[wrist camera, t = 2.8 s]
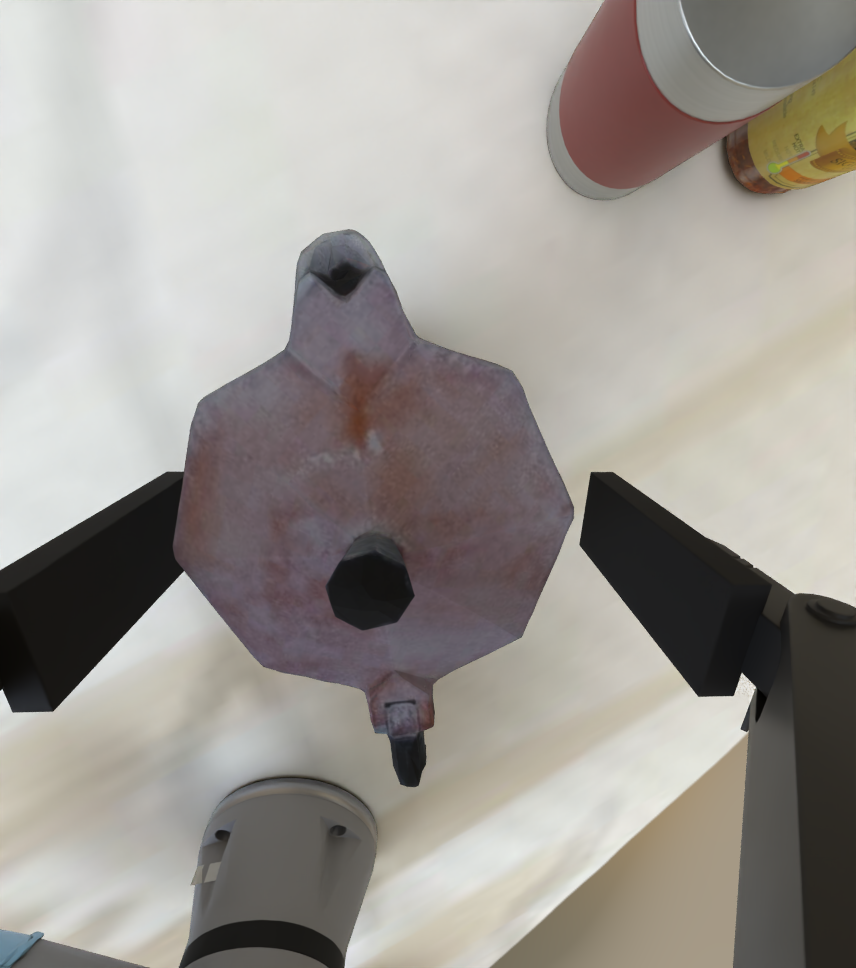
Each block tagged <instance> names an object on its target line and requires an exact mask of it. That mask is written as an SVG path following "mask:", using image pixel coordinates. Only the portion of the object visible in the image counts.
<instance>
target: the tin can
mask: <svg viewBox="0 0 856 968" xmlns="http://www.w3.org/2000/svg"><path fill="white" fill-rule="evenodd" d="M855 48H856V0H604V2H603V4H602V6H601V7H600V9H599V11H598V12H597V14H596V16H595V17H594V19H593V21H592V22H591V24H590V26H589V27H588V29H587V31H586V32H585V34H584V36H583V37H582V39H581V41H580V43H579V44H578V46H577V48H576V49H575V51H574V53H573V55H572V57H571V59H570V61H569V63H568V65H567V66H566V68H565V70H564V71H563V73H562V75H561V76H560V78H559V80H558V82H557V85H556V87H555V89H554V92H553V95H552V97H551V101H550V105H549V110H548V117H547V141H548V147H549V151H550V155H551V158H552V161H553V163H554V165H555V168H556V170H557V171H558V173H559V175H560V176H561V178H562V179H563V180H564V181H565V182H566V184H568V185H569V186H570V187H571V188H572V189H573V190H575V191H576V192H578V193H579V194H581V195H583V196H586V197H589V198H592V199H598V200H611V199H616V198H620V197H623V196H626V195H628V194H630V193H632V192H634V191H635V190H637V189H639V188H640V187H642V186H644V185H645V184H647V183H649V182H651V181H653V180H655V179H657V178H659V177H660V176H662V175H663V174H665V173H667V172H668V171H670V170H672V169H673V168H675V167H676V166H678V165H680V164H681V163H683V162H685V161H686V160H688V159H689V158H691V157H693V156H694V155H696V154H698V153H699V152H701V151H702V150H704V149H706V148H707V147H709V146H711V145H712V144H714V143H715V142H717V141H719V140H720V139H722V138H724V137H725V136H727V135H728V134H730V133H732V132H733V131H735V130H737V129H738V128H740V127H741V126H743V125H745V124H746V123H748V122H750V121H751V120H753V119H754V118H756V117H758V116H759V115H761V114H763V113H764V112H766V111H767V110H769V109H770V108H772V107H773V106H775V105H776V104H778V103H779V102H781V101H782V100H783V99H784V98H786V97H787V96H789V95H790V94H792V93H794V92H795V91H797V90H798V89H800V88H802V87H803V86H805V85H806V84H808V83H810V82H811V81H813V80H815V79H816V78H818V77H819V76H821V75H823V74H824V73H826V72H827V71H828V70H830V69H831V68H833V67H834V66H836V65H837V64H838V63H840V62H841V61H842V60H843V59H844V58H845V57H847V56H848V55H849V54H850V53H851V52H852V51H853V50H854V49H855Z"/></svg>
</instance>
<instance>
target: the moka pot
mask: <svg viewBox="0 0 856 968" xmlns="http://www.w3.org/2000/svg"><path fill="white" fill-rule="evenodd" d="M573 519H574V506H573V504H572V501H571V499H570V496H569V494H568V492H567V489H566V487H565V484H564V482H563V480H562V478H561V476H560V474H559V472H558V470H557V468H556V466H555V463H554V461H553V459H552V457H551V455H550V453H549V450H548V448H547V446H546V444H545V441H544V439H543V437H542V434H541V432H540V430H539V428H538V425H537V423H536V421H535V418H534V416H533V414H532V412H531V409H530V407H529V404H528V402H527V399H526V396H525V393H524V390H523V387H522V386H521V384H520V383H519V381H518V379H517V378H516V376H515V374H514V373H513V371H511V370H509V369H507V368H505V367H502V366H500V365H498V364H496V363H492V362H489V361H485V360H482V359H479V358H475V357H472V356H468V355H465V354H462V353H458V352H455V351H452V350H449V349H446V348H443V347H441V346H438V345H436V344H433V343H431V342H428V341H425V340H423V339H420V338H419V337H418V336H417V335H416V334H415V332H414V330H413V328H412V326H411V325H410V323H409V321H408V319H407V317H406V316H405V314H404V312H403V309H402V306H401V304H400V301H399V298H398V295H397V292H396V290H395V288H394V286H393V284H392V282H391V280H390V278H389V276H388V274H387V273H386V271H385V269H384V266H383V264H382V261H381V260H380V258H379V256H378V255H377V253H376V251H375V250H374V248H373V246H372V245H371V244H370V242H369V241H368V240H367V239H366V238H365V237H364V236H363V235H361V234H360V233H358V232H357V231H355V230H350V229H348V230H342V231H337V232H331V233H325V234H322V235H321V236H320V237H318V238H317V239H316V240H315V241H313V242H312V243H311V244H310V245H309V246H308V247H306V248H305V249H304V250H303V251H302V252H301V254H300V257H299V260H298V263H297V269H296V280H295V295H294V306H293V316H292V325H291V332H290V338H289V342H288V344H287V346H286V348H285V350H283V351H282V352H280V353H279V354H277V355H276V356H274V357H273V358H271V359H270V360H268V361H266V362H265V363H263V364H261V365H260V366H258V367H256V368H255V369H253V370H251V371H249V372H247V373H246V374H244V375H242V376H240V377H238V378H236V379H235V380H233V381H231V382H229V383H227V384H226V385H224V386H222V387H220V388H219V389H217V390H215V391H214V392H212V393H210V394H208V395H207V396H205V397H204V398H203V399H202V400H201V401H200V402H199V403H198V406H197V409H196V412H195V414H194V417H193V420H192V423H191V428H190V434H189V441H188V448H187V454H186V461H185V469H184V476H183V484H182V490H181V496H180V503H179V509H178V515H177V521H176V528H175V534H174V541H173V551H174V556H175V559H176V561H177V562H178V563H179V565H180V566H181V567H182V568H183V570H184V571H185V572H186V573H187V575H188V576H189V577H190V578H191V580H192V581H193V582H194V584H195V585H196V586H197V587H198V589H199V590H200V591H201V592H202V594H203V595H204V596H205V597H206V599H207V600H208V601H209V602H210V604H211V605H212V606H213V607H214V609H215V610H216V611H217V612H218V613H219V615H220V616H221V617H222V618H223V620H224V621H225V622H226V623H227V625H228V626H229V627H230V628H231V630H232V631H233V632H234V633H235V635H236V636H237V637H238V638H239V639H240V641H241V642H242V643H243V644H244V646H245V647H246V648H247V649H248V650H249V652H250V653H251V654H252V655H253V656H254V658H255V659H256V660H257V661H258V662H259V663H260V664H261V665H262V666H263V667H266V668H269V669H272V670H276V671H279V672H282V673H287V674H293V675H300V676H306V677H309V678H313V679H317V680H321V681H325V682H332V683H339V684H343V685H347V686H351V687H355V688H359V689H361V690H362V691H364V692H365V694H366V698H367V702H368V706H369V712H370V718H371V722H372V725H373V728H374V731H375V733H381V734H387V735H388V738H389V740H390V743H391V752H392V760H393V766H394V769H395V772H396V774H397V777H398V779H399V782H400V784H401V785H404V786H407V787H417V786H418V785H419V782H420V778H421V774H422V771H423V769H424V767H425V765H426V758H427V756H426V745H425V742H424V730H427V729H429V728H431V727H433V726H434V715H435V711H434V704H433V684H434V683H435V682H436V681H437V680H438V679H440V678H441V677H443V676H445V675H447V674H449V673H451V672H452V671H454V670H456V669H458V668H460V667H462V666H464V665H466V664H468V663H470V662H472V661H475V660H477V659H479V658H481V657H483V656H485V655H487V654H489V653H491V652H493V651H495V650H497V649H499V648H501V647H503V646H505V645H507V644H509V643H511V642H513V641H515V640H517V639H519V638H521V637H522V635H523V633H524V631H525V628H526V626H527V624H528V621H529V619H530V617H531V615H532V613H533V611H534V609H535V606H536V603H537V601H538V599H539V597H540V594H541V592H542V590H543V588H544V586H545V583H546V581H547V579H548V577H549V575H550V572H551V570H552V568H553V565H554V563H555V561H556V559H557V556H558V554H559V552H560V549H561V546H562V544H563V541H564V538H565V536H566V534H567V531H568V529H569V527H570V525H571V523H572V521H573Z"/></svg>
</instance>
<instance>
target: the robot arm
mask: <svg viewBox="0 0 856 968" xmlns="http://www.w3.org/2000/svg"><path fill="white" fill-rule="evenodd" d="M183 476H184V472H166V473H164V474H162V475H161V476H159V477H157V478H156V479H154V480H152V481H151V482H149V483H147V484H146V485H144V486H142V487H140V488H139V489H137V490H135V491H134V492H132V493H130V494H129V495H127V496H125V497H124V498H122V499H120V500H118V501H117V502H115V503H113V504H112V505H110V506H108V507H107V508H105V509H103V510H102V511H100V512H98V513H96V514H95V515H93V516H91V517H90V518H88V519H86V520H85V521H83V522H81V523H80V524H78V525H76V526H74V527H73V528H71V529H69V530H68V531H66V532H64V533H63V534H61V535H59V536H58V537H56V538H54V539H52V540H51V541H49V542H47V543H46V544H44V545H42V546H41V547H39V548H37V549H36V550H34V551H32V552H30V553H29V554H27V555H25V556H24V557H22V558H20V559H19V560H17V561H15V562H14V563H12V564H10V565H8V566H7V567H5V568H3V569H2V570H0V690H2V689H3V691H4V694H5V696H6V698H7V700H8V703H9V705H10V707H11V710H12V712H53V711H54V710H55V709H56V708H57V707H58V706H59V705H60V704H61V703H62V701H63V700H64V699H65V698H66V697H67V696H68V695H69V694H70V693H71V692H72V691H73V690H74V689H75V687H76V686H77V685H78V684H79V683H80V682H81V681H82V680H83V679H84V678H85V677H86V676H87V675H88V674H89V672H90V671H91V670H92V669H93V668H94V667H95V666H96V665H97V664H98V663H99V662H100V661H101V660H102V658H103V657H104V656H105V655H106V654H107V653H108V652H109V651H110V650H111V649H112V648H113V647H114V646H115V645H116V643H117V642H118V641H119V640H120V639H121V638H122V637H123V636H124V635H125V634H126V633H127V632H128V631H129V629H130V628H131V627H132V626H133V625H134V624H135V623H136V622H137V621H138V620H139V619H140V618H141V617H142V616H143V614H144V613H145V612H146V611H147V610H148V609H149V608H150V607H151V606H152V605H153V604H154V603H155V602H156V600H157V599H158V598H159V597H160V596H161V595H162V594H163V593H164V592H165V591H166V590H167V589H168V588H169V586H170V585H171V584H172V583H173V582H174V581H175V580H176V579H177V578H178V577H179V576H180V575H181V574H182V573H183V571H184V570H183V568H182V567H181V566H180V565H179V563H178V562H177V561H176V559H175V556H174V551H173V541H174V534H175V528H176V521H177V515H178V509H179V503H180V496H181V490H182V484H183ZM579 545H580V546H581V548H582V549H583V550H584V551H585V553H586V554H587V555H588V557H589V558H590V559H591V560H592V562H593V563H594V564H595V565H596V567H597V568H598V569H599V571H600V572H601V573H602V574H603V576H604V577H605V578H606V579H607V581H608V582H609V583H610V585H611V586H612V587H613V588H614V590H615V591H616V592H617V594H618V595H619V596H620V597H621V599H622V600H623V601H624V602H625V604H626V605H627V606H628V608H629V609H630V610H631V611H632V613H633V614H634V615H635V616H636V618H637V619H638V620H639V622H640V623H641V624H642V625H643V627H644V628H645V629H646V630H647V632H648V633H649V634H650V636H651V637H652V638H653V639H654V641H655V642H656V643H657V644H658V646H659V647H660V648H661V650H662V651H663V652H664V653H665V655H666V656H667V657H668V658H669V660H670V661H671V662H672V664H673V665H674V666H675V667H676V669H677V670H678V671H679V673H680V674H681V675H682V676H683V678H684V679H685V680H686V681H687V683H688V684H689V685H690V687H691V688H692V689H693V690H694V692H695V693H696V694H697V695H698V697H707V696H734V693H735V690H736V687H737V685H738V682H739V679H740V676H741V673H743V674H744V675H745V676H746V677H747V678H748V679H749V680H750V681H751V682H752V683H753V684H754V685H755V686H756V689H755V691H754V694H753V697H752V700H751V702H750V705H749V708H748V710H747V713H746V716H745V718H744V721H743V724H742V727H741V730H743V731H746V732H747V731H748V730H749V737H748V750H747V765H746V780H745V795H744V811H743V825H742V840H741V856H740V870H739V885H738V900H737V916H736V930H735V945H734V961H733V968H856V608H855V607H853V606H851V605H848V604H846V603H843V602H841V601H838V600H835V599H832V598H829V597H824V596H820V595H815V594H802V593H799V594H796V595H795V594H794V593H792V592H791V591H789V590H788V589H787V588H785V587H784V586H782V585H781V584H779V583H778V582H776V581H775V580H773V579H772V578H771V577H769V576H768V575H766V574H765V573H763V572H762V571H760V570H759V569H758V568H753V565H752V564H750V563H749V562H747V561H746V560H744V559H740V556H739V555H737V554H736V553H734V552H733V551H731V550H730V549H729V548H727V547H726V546H724V545H722V544H719V543H717V542H715V541H713V540H710V539H708V538H706V537H704V536H703V535H701V534H700V533H699V532H697V531H696V530H694V529H693V528H691V527H690V526H689V525H687V524H686V523H684V522H683V521H682V520H680V519H679V518H677V517H676V516H674V515H673V514H672V513H670V512H669V511H667V510H666V509H665V508H663V507H662V506H660V505H659V504H657V503H656V502H655V501H653V500H652V499H650V498H649V497H648V496H646V495H645V494H643V493H642V492H640V491H639V490H638V489H636V488H635V487H633V486H632V485H631V484H629V483H628V482H626V481H625V480H623V479H622V478H621V477H619V476H618V475H616V474H615V473H614V472H591V475H590V481H589V487H588V494H587V500H586V506H585V513H584V519H583V525H582V532H581V538H580V544H579ZM376 846H377V827H376V824H375V821H374V818H373V816H372V815H371V813H370V811H369V810H368V809H367V808H366V806H365V805H364V804H363V803H362V802H361V801H359V800H358V799H357V798H356V797H354V796H353V795H351V794H350V793H348V792H346V791H344V790H342V789H340V788H338V787H336V786H333V785H330V784H327V783H324V782H320V781H315V780H310V779H301V778H279V779H271V780H265V781H261V782H257V783H254V784H251V785H248V786H245V787H243V788H241V789H239V790H237V791H235V792H234V793H232V794H230V795H229V796H228V797H226V798H225V799H224V800H223V801H222V802H221V803H220V804H219V805H218V806H217V807H216V809H215V810H214V812H213V814H212V816H211V818H210V820H209V823H208V825H207V828H206V830H205V833H204V836H203V839H202V843H201V847H200V850H199V856H198V865H197V870H196V872H195V875H194V877H193V880H192V883H191V885H195V891H194V899H193V908H192V917H191V925H190V934H189V939H188V943H187V946H186V949H185V952H184V955H183V958H182V960H181V963H180V966H179V968H344V966H345V957H346V952H347V947H348V944H349V941H350V938H351V935H352V932H353V929H354V926H355V923H356V920H357V917H358V914H359V911H360V908H361V905H362V902H363V899H364V896H365V893H366V890H367V887H368V884H369V881H370V878H371V875H372V872H373V867H374V862H375V857H376ZM191 885H190V886H191ZM43 936H44V933H42V932H35V933H33V934H31V935H27V934H22V933H17V932H11V931H6V930H1V929H0V968H148V967H144V966H140V965H137V964H133V963H129V962H125V961H122V960H118V959H114V958H111V957H107V956H103V955H99V954H96V953H92V952H88V951H84V950H81V949H77V948H73V947H70V946H66V945H62V944H58V943H55V942H51V941H47V940H44V939H41V938H42V937H43Z"/></svg>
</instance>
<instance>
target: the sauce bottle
mask: <svg viewBox="0 0 856 968" xmlns="http://www.w3.org/2000/svg"><path fill="white" fill-rule="evenodd" d="M726 151H727V153H728V158H729V164H730V166H731V169H732V172H733V174H734V176H735V178H736V179H737V180H738V181H739V182H740V183H741V184H742V185H743V186H745V187H746V188H747V189H749V190H750V191H754V192H757V193H763V194H766V193H768V194H771V193H772V194H773V193H784V192H786V191H789V190H792V189H802V188H807V187H810V186H813V185H816V184H818V183H821V182H824V181H826V180H829V179H832V178H834V177H837V176H840V175H842V174H845V173H848V172H850V171H853V170H856V48H855V49H854V50H853V51H852V52H851V53H850V54H849V55H848V56H847V57H845V58H844V59H843V60H842V61H841V62H840V63H838V64H837V65H836V66H834V67H833V68H831V69H830V70H828V71H827V72H826V73H824V74H823V75H821V76H819V77H818V78H816V79H815V80H813V81H811V82H810V83H808V84H806V85H805V86H803V87H802V88H800V89H798V90H797V91H795V92H794V93H792V94H790V95H789V96H787V97H786V98H784V99H783V100H782V101H781V102H779V103H778V104H776V105H775V106H773V107H772V108H770V109H769V110H767V111H766V112H764V113H763V114H761V115H759V116H758V117H756V118H754V119H753V120H751V121H750V122H748V123H746V124H745V125H743V126H741V127H740V128H738V129H737V130H735V131H733V132H732V133H730V134H728V135H727V148H726Z"/></svg>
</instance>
